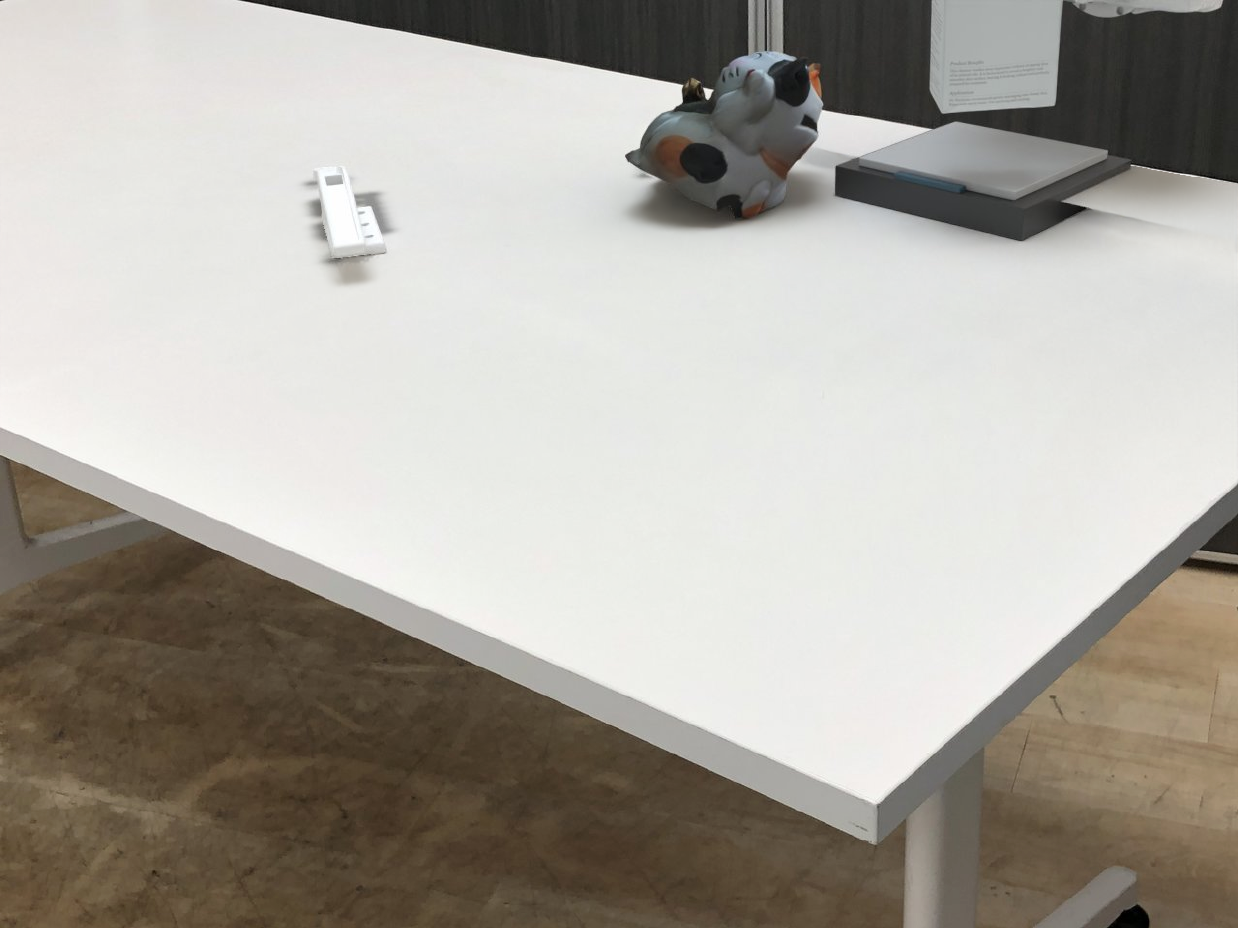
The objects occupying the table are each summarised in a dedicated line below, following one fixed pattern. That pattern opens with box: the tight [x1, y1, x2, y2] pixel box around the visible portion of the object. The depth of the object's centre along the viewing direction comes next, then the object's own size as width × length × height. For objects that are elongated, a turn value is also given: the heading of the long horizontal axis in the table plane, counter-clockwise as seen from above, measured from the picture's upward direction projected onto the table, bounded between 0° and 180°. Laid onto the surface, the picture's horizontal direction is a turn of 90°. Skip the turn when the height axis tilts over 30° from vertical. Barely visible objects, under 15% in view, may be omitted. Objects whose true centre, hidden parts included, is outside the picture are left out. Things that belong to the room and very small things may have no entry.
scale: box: [834, 121, 1132, 242], centre depth 112 cm, size 17×15×3 cm
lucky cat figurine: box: [624, 50, 824, 220], centre depth 112 cm, size 15×12×14 cm
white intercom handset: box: [312, 164, 387, 259], centre depth 109 cm, size 4×20×5 cm, turn 15°
